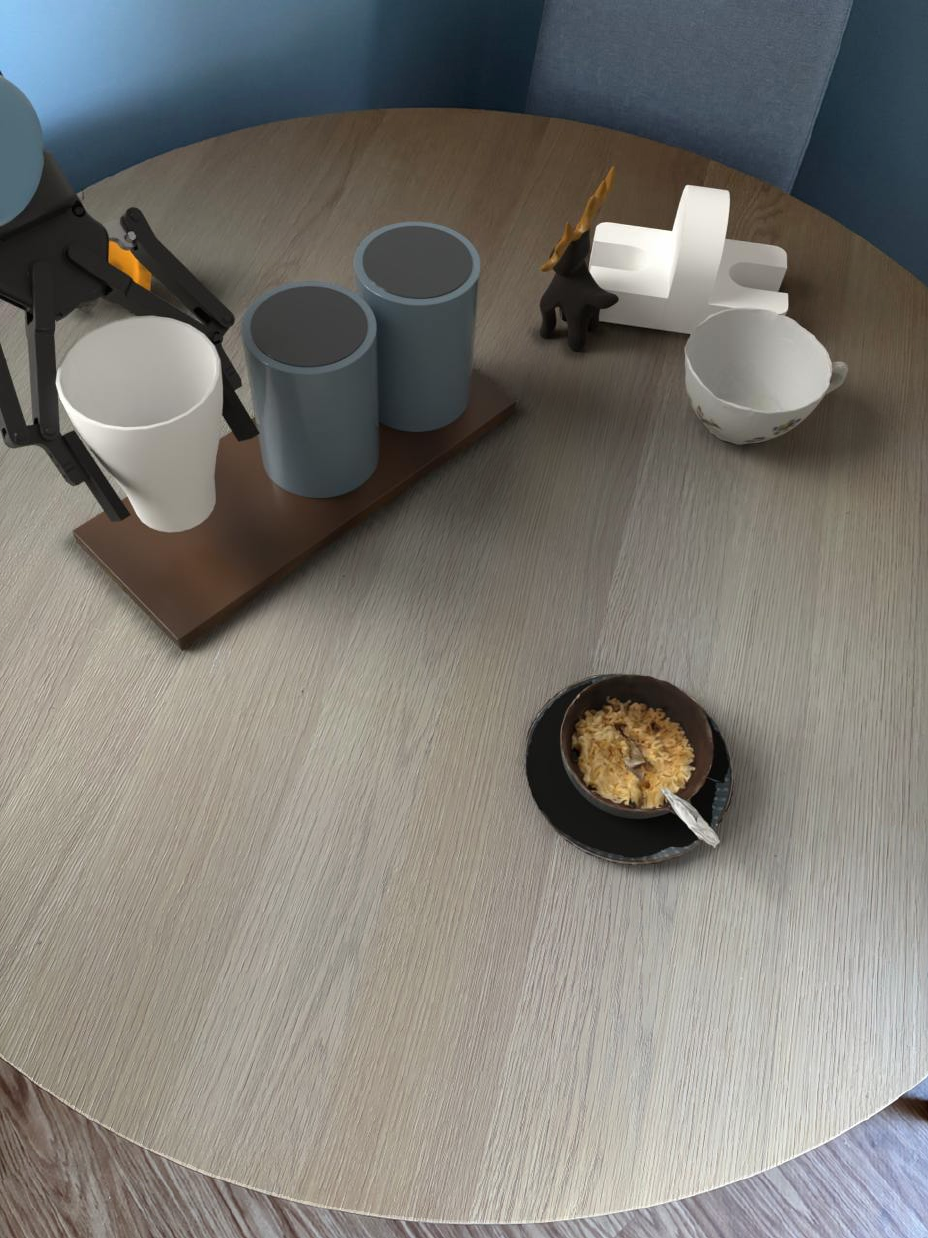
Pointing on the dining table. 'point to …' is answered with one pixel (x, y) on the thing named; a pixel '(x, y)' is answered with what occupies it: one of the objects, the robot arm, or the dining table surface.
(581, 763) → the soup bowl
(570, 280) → the figurine
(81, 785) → the dining table surface
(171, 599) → the walnut board
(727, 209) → the bracket
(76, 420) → the cup
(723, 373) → the teacup
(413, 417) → the slate cup
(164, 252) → the robot arm
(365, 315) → the slate cup
